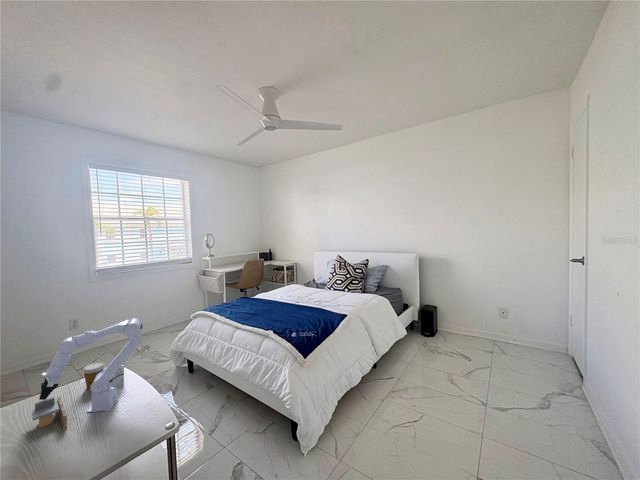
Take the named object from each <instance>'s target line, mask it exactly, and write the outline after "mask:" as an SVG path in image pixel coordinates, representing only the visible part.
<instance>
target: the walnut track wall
mask: <svg viewBox="0 0 640 480" xmlns="http://www.w3.org/2000/svg"><path fill="white" fill-rule="evenodd" d="M56 401H57V403H58V406H59V411H58V416H59V419H60V422H61V426H62V429H63V431H65V430H68V415H67V412H66V409H65V406H64V403H63V401H62V397H61V396H60V395H59V396H57V400H56Z"/></svg>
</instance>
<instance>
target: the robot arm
mask: <svg viewBox="0 0 640 480" xmlns="http://www.w3.org/2000/svg"><path fill="white" fill-rule="evenodd" d="M143 328H144V325H143V322H142V320H141V319H140V318H139V317H138V318H137V317H133V318H131V319H126V320H123V321H121V322H117V323H116V324H113V325H110V326H108V327H104V328H103V329H100V330H98V331H96V330H90V331H89V330H86V331H84V333H82V334H78V335H73V336H70V337H67V338H65V339H64V340H63V341H62V342H61V343H60V344H58V347H57V351H56V354H55V355H54V357H53V359H52V360H51V363H50V365H49V367H48V368H47V370H46V372H42V373H41V377H44V382H42V383H40V384H41V385H40V389H41V392H40V394H39V401H43V400H46V399H48V397H49V396H50V395H51V394H52V392H53V391H54V390H55V389H57V388H58V387H59V383H57V382H58V380H59V379H60V378H62V377H63V375H64V371H65V370H66V369H67V366H68V363H69V361H70V360H71V358H72V356H73V352H74V350H75V349H79V348H83V347H85V346H88V345H91V344H94V343H96V342H97V340H98V339H100V338H103V337H106V336H109V335H112V334H116V333H118V334H121V335H124V334H125V335H126V336H127V337H128V341H127V343H126V344H125V345H124V346H123V347H122V349H121V350H120V351H119V352H118V353H117V355H116V356H115V357H114V358H113V359H112V361H110V363H109V364H108V365H107V366H105V367H106V368H105V367H104V368H105V369H104V370H103V371H102V372H100V373H98V374H97V375H96V377H95V380H94V382H93V383H92V385H91V387H90V389H91V390H90V391H91V407H89V409H87V410H86V413H95V412H107V411H109V410H111V409H112V408H113V407H114V405H116V404H117V402H118V401H119V399H118V388H116V387H112V386H111V384H110V383H109V381H110V380H111V378H112V377H113V375H114V374H115V372H116V371H117V370H118V369H119V367H120V366H121V365H122V364H123V365H124V362H125V361H126V360H127V359H128V358H129V356H131V354H132V353H133V352H134V351H135V350H136V348H137V347H138V346H139V345H140V343H141V342H142V338H143Z"/></svg>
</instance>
